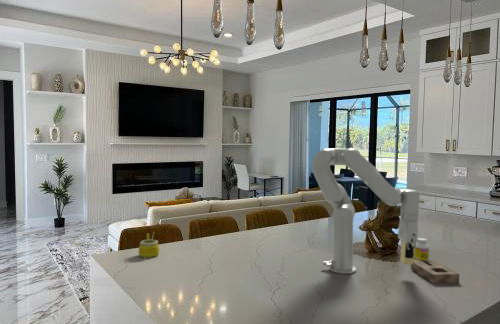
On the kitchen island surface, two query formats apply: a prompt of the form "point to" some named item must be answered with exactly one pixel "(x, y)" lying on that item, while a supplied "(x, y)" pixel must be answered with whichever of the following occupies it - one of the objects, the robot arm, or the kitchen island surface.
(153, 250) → the yellow pot
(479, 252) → the kitchen island surface
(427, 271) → the socket block
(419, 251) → the supplement bottle
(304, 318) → the kitchen island surface
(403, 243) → the peg
